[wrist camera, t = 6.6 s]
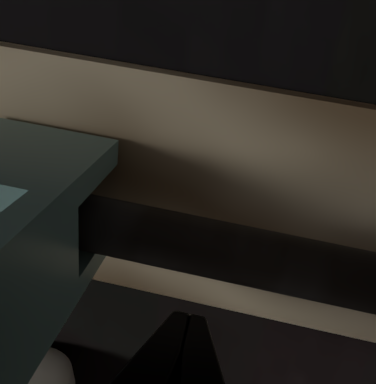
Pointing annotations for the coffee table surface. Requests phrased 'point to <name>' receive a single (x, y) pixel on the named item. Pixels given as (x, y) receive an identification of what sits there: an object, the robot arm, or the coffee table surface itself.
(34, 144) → the marker sleeve
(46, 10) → the coffee table surface
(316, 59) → the coffee table surface
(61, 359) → the cable organizer
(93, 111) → the cord board
